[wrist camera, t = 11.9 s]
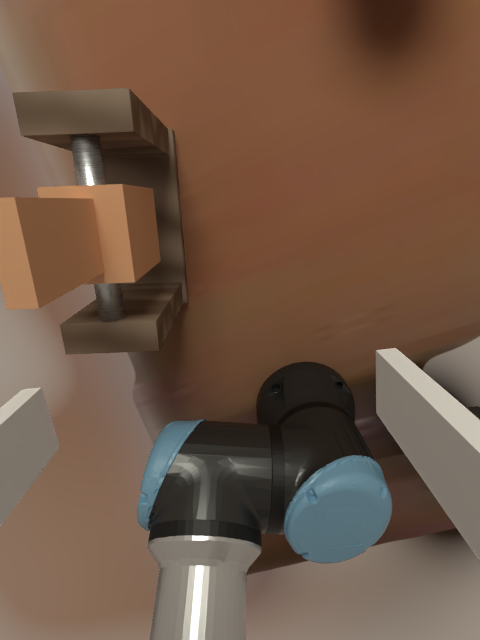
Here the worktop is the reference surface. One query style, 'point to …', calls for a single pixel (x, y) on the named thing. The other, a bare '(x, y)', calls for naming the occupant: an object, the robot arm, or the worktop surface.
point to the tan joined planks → (75, 240)
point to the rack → (118, 168)
